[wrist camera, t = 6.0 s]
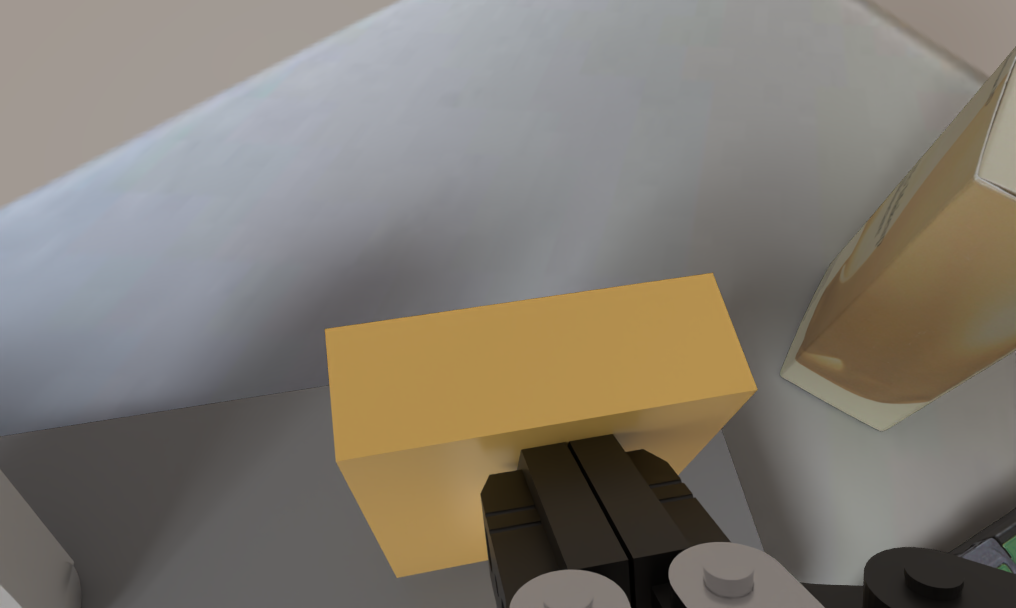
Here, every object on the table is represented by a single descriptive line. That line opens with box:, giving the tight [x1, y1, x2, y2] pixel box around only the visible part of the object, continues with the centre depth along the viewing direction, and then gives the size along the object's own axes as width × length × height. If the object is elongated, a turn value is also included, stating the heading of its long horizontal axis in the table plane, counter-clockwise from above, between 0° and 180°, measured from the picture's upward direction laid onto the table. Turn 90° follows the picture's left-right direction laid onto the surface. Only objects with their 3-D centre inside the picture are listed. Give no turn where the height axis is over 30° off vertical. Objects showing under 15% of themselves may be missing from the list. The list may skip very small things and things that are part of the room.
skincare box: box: [780, 47, 1016, 431], centre depth 23 cm, size 6×4×12 cm
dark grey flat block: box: [0, 385, 764, 608], centre depth 21 cm, size 28×10×4 cm, turn 101°
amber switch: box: [325, 273, 758, 578], centre depth 15 cm, size 6×2×11 cm, turn 101°
